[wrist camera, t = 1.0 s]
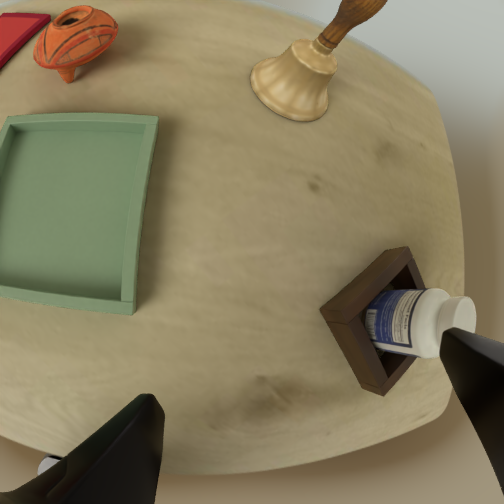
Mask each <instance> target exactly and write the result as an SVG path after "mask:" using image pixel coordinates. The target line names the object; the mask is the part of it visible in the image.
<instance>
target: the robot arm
mask: <svg viewBox="0 0 504 504" xmlns="http://www.w3.org/2000/svg"><path fill="white" fill-rule="evenodd" d="M439 355H440V359H441V361H442V363H443V365H444V367H445V370H446V372H447V374H448V376H449V379H450V381H451V383H452V386H453V388H454V390H455V392H456V394H457V396H458V398H459V400H460V402H461V404H462V406H463V407H464V409H465V411H466V413H467V415H468V417H469V418H470V420H471V422H472V424H473V426H474V428H475V430H476V432H477V434H478V436H479V438H480V440H481V442H482V444H483V447H484V449H485V451H486V453H487V455H488V457H489V460H490V462H491V464H492V467H493V469H494V472H495V474H496V476H497V479H498V481H499V484H500V486H501V487H502V488H501V490H502V492H503V495H504V343H501V342H498V341H495V340H492V339H489V338H486V337H483V336H480V335H477V334H474V333H471V332H468V331H465V330H462V329H460V328H457V327H452V328H449V329H447V330H445V331H444V332H443V333H442V338H441V344H440V350H439ZM164 423H165V413H164V410H163V409H162V407H161V405H160V404H159V402H158V401H157V399H156V398H155V396H154V395H153V394H140V395H138V396H137V397H136V398H135V399H134V400H133V401H131V402H130V403H129V404H128V405H127V406H126V407H124V408H123V409H122V410H121V411H120V412H118V413H117V414H116V415H115V416H114V417H113V418H111V419H110V420H109V421H108V422H107V423H105V424H104V425H103V426H102V427H101V428H99V429H98V430H97V431H96V432H95V433H93V434H92V435H91V436H90V437H89V438H87V439H86V440H85V441H84V442H82V443H81V444H80V445H79V446H78V447H76V448H75V449H74V450H73V451H71V452H70V453H69V454H68V455H67V456H65V457H64V458H63V459H61V460H60V461H59V462H57V463H56V464H55V465H53V466H52V467H51V468H49V469H48V470H46V471H45V472H43V473H42V474H40V475H39V476H37V477H36V478H34V479H32V480H31V481H29V482H27V483H26V484H24V485H22V486H21V487H19V488H17V489H15V490H13V491H10V492H0V504H154V502H155V496H156V489H157V483H158V477H159V471H160V466H161V460H162V452H163V436H164Z"/></svg>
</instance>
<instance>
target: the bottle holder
mask: <svg viewBox="0 0 504 504" xmlns="http://www.w3.org/2000/svg"><path fill="white" fill-rule="evenodd" d="M390 282H391V283H392V285H393V287H394V289H395V290H409V289H426V288H425V285H424V283H423V280H422V278H421V275H420V273H419V270H418V268H417V265H416V263H415V260H414V258H413V256H412V254H411V251H410V249H409V247H408V246H405V247H400V248H395V249H390V250H386V251H385V252H384V253H382V254H381V255H380V256H379V257H378V258H377V259H376V260H375V261H374V262H373V263H372V264H371V265H370V266H369V267H367V268H366V269H365V270H364V271H363V272H362V273H361V274H360V275H359V276H357V277H356V278H355V279H354V280H353V281H352V282H351V283H350V284H348V285H347V286H346V287H345V288H344V289H343V290H342V291H340V292H339V293H338V294H337V295H336V296H335V297H333V298H332V299H331V300H330V301H329V302H327V303H326V304H325V305H324V306H323V307H321V308H320V309H319V310H320V312H321V313H322V315H323V317H324V319H325V320H326V323H327V324H328V326H329V328H330V330H331V332H332V333H333V335H334V337H335V339H336V341H337V342H338V344H339V346H340V348H341V350H342V351H343V353H344V355H345V357H346V359H347V361H348V363H349V364H350V366H351V368H352V370H353V372H354V374H355V376H356V377H357V379H358V381H359V383H360V385H361V387H362V388H363V389H365V390H368V391H370V392H373V393H375V394H378V395H381V396H385V395H386V393H387V392H388V391H389V390H390V389H391V388H392V387H393V386H394V385H395V383H396V382H397V381H398V380H399V379H400V378H401V376H402V375H403V374H404V373H405V372H406V370H407V369H408V368H409V367H410V366H411V364H412V363H413V362H414V360H415V359H416V358H417V357H414V356H408V355H402V354H397V353H392V352H387V351H386V352H385V353H384V354H383V355H382V356H381V357H380V358H379V357H378V355H377V353H376V351H375V349H374V346H373V344H372V342H371V340H370V338H369V336H368V334H367V332H366V330H365V328H364V326H363V324H362V322H361V320H360V318H359V316H358V314H359V313H360V312H361V311H362V310H363V309H364V308H365V307H366V306H367V305H368V304H369V303H370V302H371V301H372V300H373V299H374V298H375V297H376V296H377V295H378V294H379V293H380V292H381V291H382V290H383V289H384V288H385V287H386V286H387V285H388V284H389V283H390Z"/></svg>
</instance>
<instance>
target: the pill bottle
mask: <svg viewBox="0 0 504 504" xmlns="http://www.w3.org/2000/svg"><path fill="white" fill-rule="evenodd" d="M358 316H359V318H360V320H361V322H362V324H363V326H364V328H365V330H366V332H367V334H368V336H369V338H370V340H371V342H372V344H373V346H374V349H377V350H381V351H387V352H392V353H397V354H402V355H408V356H414V357H419V358H424V359H432V358H436V357H438V356H440V355H439V350H440V344H441V338H442V333H443V332H444V331H445V330H447V329H449V328H452V327H457V328H460V329H462V330H465V331H468V332H471V333H474V332H475V327H476V311H475V306H474V303H473V301H472V300H471V299H470V298H469V297H450V296H449V294H448V293H447V292H446V291H444V290H442V289H438V288H428V289H409V290H388V291H381V292H380V293H379V294H378V295H377V296H376V297H375V298H374V299H373V300H372V301H371V302H370V303H369V304H368V305H367V306H366V307H365V308H364V309H363V310H362V311H361V312H360V313H359V315H358Z"/></svg>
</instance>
